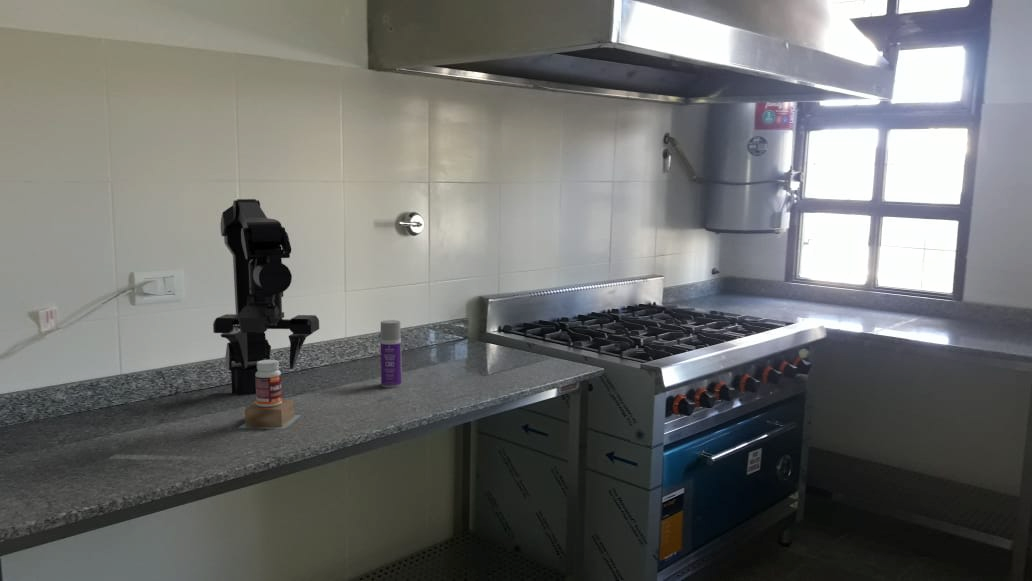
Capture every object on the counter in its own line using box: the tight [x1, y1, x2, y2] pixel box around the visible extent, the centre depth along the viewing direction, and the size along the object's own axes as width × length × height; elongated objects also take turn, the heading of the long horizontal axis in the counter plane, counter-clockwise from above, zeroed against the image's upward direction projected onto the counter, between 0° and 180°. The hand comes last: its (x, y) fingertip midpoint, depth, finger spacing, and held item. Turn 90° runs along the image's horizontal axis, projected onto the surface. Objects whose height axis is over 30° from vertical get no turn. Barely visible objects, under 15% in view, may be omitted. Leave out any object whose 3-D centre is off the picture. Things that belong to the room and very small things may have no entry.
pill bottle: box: [255, 359, 283, 407], centre depth 153 cm, size 5×5×8 cm
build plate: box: [238, 414, 301, 430], centre depth 154 cm, size 17×12×1 cm
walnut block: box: [244, 399, 295, 427], centre depth 153 cm, size 7×7×3 cm
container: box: [380, 319, 402, 389], centre depth 183 cm, size 5×5×15 cm
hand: (268, 368), depth 152 cm, fingers open, 9 cm apart
